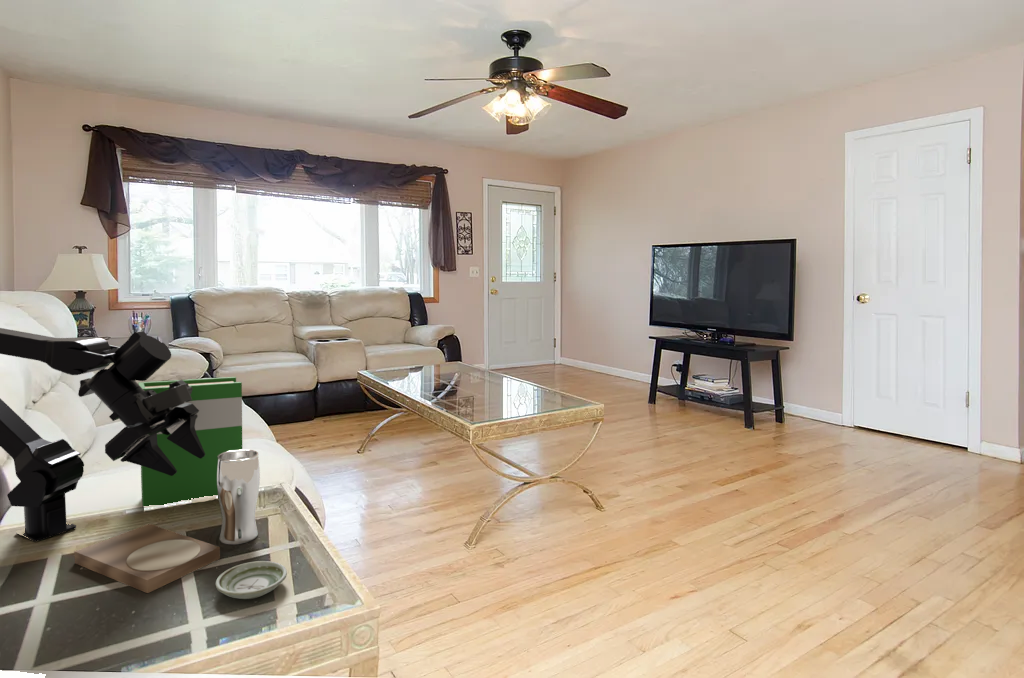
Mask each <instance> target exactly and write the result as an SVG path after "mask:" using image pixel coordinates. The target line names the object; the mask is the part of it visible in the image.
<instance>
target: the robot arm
mask: <svg viewBox="0 0 1024 678" xmlns="http://www.w3.org/2000/svg"><path fill="white" fill-rule="evenodd" d="M0 355H6V356H9V357H10V356H11V357H16V358H22V359H27V360H32V361H33V360H34V361H38V362H41V363H44V364H46V365H48V366H49V367H50V368H51V369H53V370H55V371H58V372H61V373H63V374H64V373H65V374H67V375H70V376H79V375H84V374H89V373H93V372H96V373H95V374H93V376H92V377H89V378H84V379H81V380H79V388H78V394H77V395H78V396H79V398H80V397H81V398H82V397H85V396H89V395H93V394H95V396H96V397H97V398H98V399H99V400H101V402H102V403H103V404H104V405H105V406H106V407H107V408H108V409H109V410H110V411H111V412H112V413H111V414H110V415H109V416H108V418H109V419H110V420H111V421H112V422H115V421H117V420H120V421H121V423H123V425H124V428H122V429H121V430H120V431H118V433H117V434H115V435H114V436H113V437H112V438H111V439H110V440H108V442H106V443H105V444H104V453H105V454H106V455H107V456H108V457H109V458H110V460H112V461H113V462H114V461H117V460H119V459H120V462H122V463H124V462H128V463H131V464H134V465H138V466H140V467H141V466H144V467H147V468H150V469H153V470H156V471H159V472H162V473H164V474H167V475H170V476H173V475H174V474H176V473H177V470H176V468H175V467H174V465H173V464H172V463H171V461H170V460H169V459H168V458H167V456H166V455H165V454H164V453H163V451H162V450H161V449H160V448H159V446H158V444H157V433H159V432H161V433H162V434H165V435H169V436H168V437H167V439H168V440H169V441H171V442H173V443H174V444H176V445H178V446H179V447H181V448H183V449H184V450H186V451H188V452H189V453H191V454H192V455H194V456H196V457H198V458H200V459H201V458H203V457H204V456H205V452H204V450H203V447H202V445H201V443H200V440H199V438H198V436H197V433H196V430H195V421H196V419H197V418H198V415H197V413H198V412H199V410H198V409H197V408H196V407H195V406H194V405H193V404H192V403H184V402H189V401H191V400H192V398H191V393H192V391H193V388H192V387H189V385H188V383H185V382H184V381H183V380H184V379H178V380H179V381H176V382H174V383H171V384H169V389H168V390H166V391H163V392H160V393H158V394H157V393H156V392H155V391H154V390H151V389H150V390H146V391H144V390H143V389H142V388H141V387H140V385H139V384H138V383H139V382H146V381H147V380H149V378H150V377H152V375H154V374H155V373H156V372H157V371H158V370H159V369H160V368H161V367H162V366H164V365H165V364H166V363H167V362H168V361H170V360H171V358H172V353H171V350H170V348H169V347H168V345H167V344H166V343H165V342H161V340H158V338H156V337H153V336H150V335H148V334H147V333H146V332H145V331H144V330H141V331H140V330H139V331H134V332H133V333H132V334H131V335H130V336H129V337H128V339H127V340H126V341H125V342H124V343H123V344H122V345H120V346H116V345H113V344H112V345H111V344H109V342H108V341H107V340H106V339H104V338H101V337H97V336H96V337H95V336H93V337H90V336H89V337H87V336H85V337H80V336H79V337H78V336H77V337H53V336H47V335H42V334H37V333H30V332H25V331H19V330H13V329H7V328H2V327H0ZM110 365H111V366H110ZM109 366H110V367H109ZM137 381H138V382H137ZM181 404H182V405H181ZM176 406H177V407H176ZM173 407H175V408H174V409H173ZM170 434H171V435H170ZM0 448H1V449H3V451H5V453H6V454H7V455H9V456H10V457H11V458H12V459H13V463H14V470H15V471H14V472H15V477H17V479H18V480H19V481H20V482H19V483H18V484H17V485H16V486H14V487H13V489H12V490H11V491H9V492H8V493H7V494H6V495H7V498H8V500H9V503H10V506H11V507H20V508H21V507H23V512H24V513H23V514H24V515H23V517H24V518H23V519H24V528H25V533H24V534H23V535H24V536H26V537H28V538H29V539H31V540H30V541H32V540H33V541H32V542H39V541H42V540H45V539H48V538H51V537H53V536H57V535H60V534H63V533H65V531H66V532H69V531H71V530H70V529H72V530H75V529H76V528H77V524H74V523H72V524H71V525H69V524H68V525H67V524H66V522H67V509H66V508H67V506H66V505H67V504H66V494H67V493H70V492H71V491H74V490H76V489H77V487H78V483H79V481H80V480H81V478H82V477H83V475H84V466H85V462H84V461H83V459H82V458H81V457H80V456H81V454H82V453H81V452H78V451H76V450H75V449H74V448H73V447H72V446H71V445H70V443H69V442H68V441H67V440H65V438H64V439H63V438H61V439H58V440H55V441H49V440H46V439H44V438H43V437H41V435H40V434H39V433H37V432H36V430H34V429H33V428H32V427H31V426H30V425H29V424H28V423H27V422H26V421H25V420H24V419H22V417H21V416H20V415H19V414H17V413H16V412H15V411H14V410H13V409H12V408H11V407H10V406H9V405H8V404H7V403H6V402H5V401H4V400H3V399H2V398H0ZM74 528H75V529H74ZM68 530H69V531H68ZM62 532H63V533H62ZM59 533H60V534H59ZM50 536H51V537H50ZM29 539H28V540H29Z"/></svg>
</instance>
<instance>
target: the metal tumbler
mask: <svg viewBox="0 0 1024 678" xmlns="http://www.w3.org/2000/svg"><path fill="white" fill-rule="evenodd" d="M260 471H261V470H260V459H259V452H258V451H256V450H254V449H243V448H242V449H240V450H231V451H227V452H223V453H221V454H219V455H218V456H217V468H216V488H217V494H218V499H219V500H218V502H219V509H220V513H221V530H220V535H219V541H220V542H221V543H222V544H225V545H230V546H231V545H233V546H234V545H242V544H245V543H249V542H251V541H253V540H254V539H256V538H257V536H258V532H259V531H258V528H257V523H256V510H257V509H256V508H257V503H258V497H259V492H260V484H261V483H260V481H261V480H260V479H261V472H260Z"/></svg>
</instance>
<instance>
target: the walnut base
mask: <svg viewBox="0 0 1024 678" xmlns="http://www.w3.org/2000/svg"><path fill="white" fill-rule="evenodd" d="M218 560H219V561H220V560H221V547H220V546H217V545H214V544H212V543H208V542H206V541H203V540H199V539H197V538H193V537H190V536H187V535H184V534H181V533H178V532H176V531H172V530H169V529H167V528H163V527H160V526H157V525H154V524H153V523H147V524H144V525H141V526H139V527H135V528H134V529H130V530H128V531H125V532H122V533H120V534H117V535H115V536H112V537H110V538H106V539H104V540H101V541H98V542H96V543H93V544H90V545H88V546H84V547H82V548H80V549H76V550H74V564H76V565H79V566H81V567H83V568H85V569H88V570H91V571H93V572H94V573H98V574H100V575H102V576H105V577H107V578H110V579H112V580H114V581H117V582H119V583H122V584H124V585H126V586H129V587H131V588H134V589H136V590H139V591H140V592H141V591H142V592H144V593H146V594H149V593H151V592H154V591H156V590H158V589H159V588H160V589H161V588H162V587H164V586H165V585H169V584H170V583H172V582H174V581H176V580H178V579H181V578H183V577H185V576H187V575H188V574H191V573H193V572H195V571H198V570H200V569H202V568H204V567H206V566H208V565H210V564H212V563H214V562H217V561H218Z"/></svg>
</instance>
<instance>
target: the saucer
mask: <svg viewBox="0 0 1024 678" xmlns="http://www.w3.org/2000/svg"><path fill="white" fill-rule="evenodd" d="M287 575H288V570H287V568H286V566H285V565H283V564H282V563H279V562H275V561H271V560H270V561H269V560H257V561H249V562H244V563H241V564H237V565H235V566H232V567H230V568H228V569H226V570H225V571H224V572H222V573H220V574H219V576H218V577H217V579H216V580H215V588H216V589H217V591H218V592H220V593H222V594H223V595H225V596H227V597H230V598H233V599H240V600H252V599H257V598H259V597H262V596H264V595H266V594H268V593H270V592H272V591H273V590H275V589H276V588H278V586H279V585H281V584H282V583H283V582H284V581H285V579H286V578H287Z"/></svg>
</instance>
